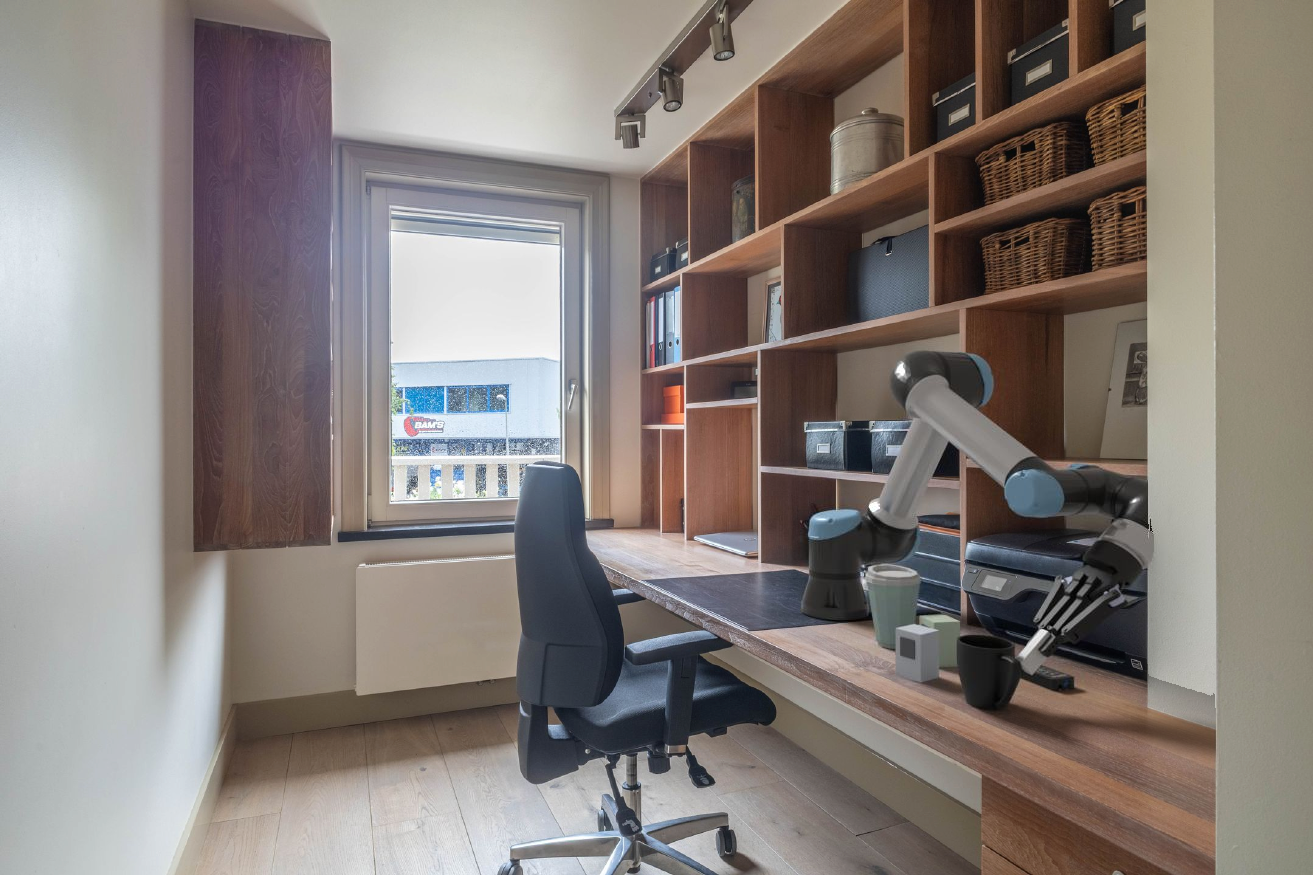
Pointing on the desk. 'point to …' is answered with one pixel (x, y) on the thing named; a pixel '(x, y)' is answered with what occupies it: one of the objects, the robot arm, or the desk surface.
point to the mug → (987, 670)
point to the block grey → (917, 653)
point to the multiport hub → (1050, 679)
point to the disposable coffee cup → (892, 600)
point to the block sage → (944, 637)
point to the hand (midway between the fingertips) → (1023, 667)
